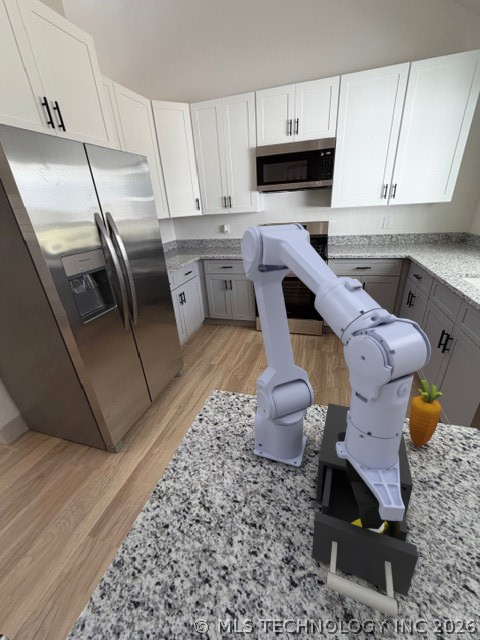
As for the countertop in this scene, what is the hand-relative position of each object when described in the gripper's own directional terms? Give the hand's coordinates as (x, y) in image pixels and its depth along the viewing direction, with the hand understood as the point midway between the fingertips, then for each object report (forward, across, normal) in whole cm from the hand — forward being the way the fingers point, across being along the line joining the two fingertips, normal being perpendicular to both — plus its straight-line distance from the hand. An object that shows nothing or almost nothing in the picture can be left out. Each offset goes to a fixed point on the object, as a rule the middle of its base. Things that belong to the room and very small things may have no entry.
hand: (362, 501), depth 37 cm
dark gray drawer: (+8, 0, 0) cm, 8 cm away
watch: (+6, +1, 0) cm, 7 cm away
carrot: (+9, -19, +17) cm, 27 cm away
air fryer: (+8, -11, +3) cm, 14 cm away
